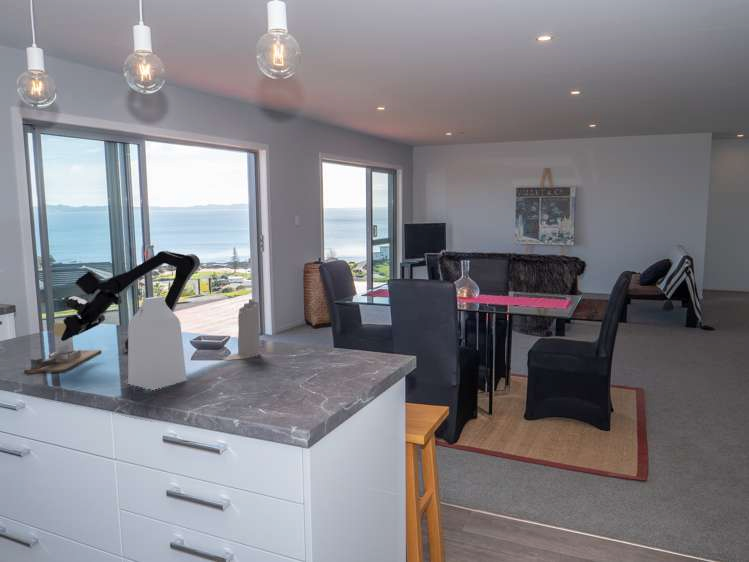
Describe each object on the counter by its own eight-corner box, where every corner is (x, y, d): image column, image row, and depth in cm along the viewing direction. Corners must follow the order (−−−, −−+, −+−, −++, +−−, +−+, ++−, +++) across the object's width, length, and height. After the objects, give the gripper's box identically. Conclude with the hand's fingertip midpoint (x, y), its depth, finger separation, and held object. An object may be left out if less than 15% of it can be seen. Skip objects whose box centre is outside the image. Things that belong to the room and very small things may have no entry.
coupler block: (73, 357, 198) (71, 321, 196) (68, 360, 194) (65, 323, 192) (62, 358, 198) (59, 321, 196) (56, 361, 194) (53, 323, 192)
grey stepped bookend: (218, 357, 201) (216, 302, 199) (253, 351, 210) (252, 298, 208) (228, 361, 196) (226, 304, 194) (263, 355, 205) (262, 300, 203)
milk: (152, 390, 164) (148, 301, 161) (128, 384, 170) (123, 298, 167) (186, 380, 174) (182, 296, 171) (162, 374, 180) (158, 293, 177)
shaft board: (101, 352, 209) (100, 342, 209) (65, 372, 183) (64, 360, 183) (65, 353, 209) (64, 342, 208) (24, 373, 183) (23, 360, 182)
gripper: (93, 285, 202) (64, 316, 203) (67, 292, 184) (35, 326, 185) (117, 306, 204) (88, 337, 204) (93, 315, 185) (61, 349, 186)
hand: (68, 337), depth 195 cm, fingers open, 9 cm apart
